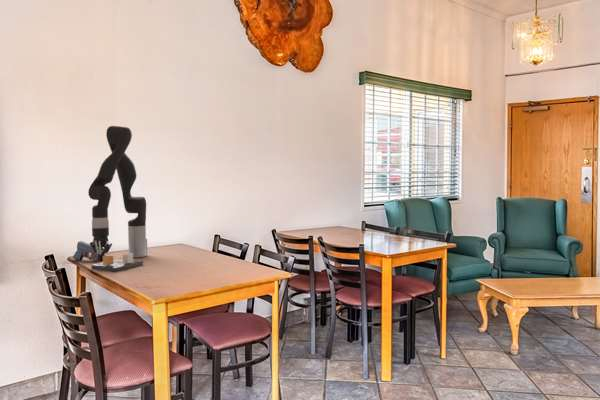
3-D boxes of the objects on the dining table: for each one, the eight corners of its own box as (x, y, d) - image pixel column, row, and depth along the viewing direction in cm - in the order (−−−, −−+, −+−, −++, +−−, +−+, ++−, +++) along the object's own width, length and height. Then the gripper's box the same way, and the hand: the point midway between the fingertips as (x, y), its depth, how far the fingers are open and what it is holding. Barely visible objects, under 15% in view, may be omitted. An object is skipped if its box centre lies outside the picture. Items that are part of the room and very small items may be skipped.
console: (119, 262, 252) (119, 258, 251) (143, 265, 245) (143, 261, 245) (91, 268, 235) (91, 264, 235) (115, 272, 228) (115, 267, 228)
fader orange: (108, 263, 236) (108, 254, 236) (113, 264, 235) (113, 254, 234) (102, 264, 233) (102, 255, 232) (107, 265, 232) (107, 256, 231)
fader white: (128, 261, 241) (128, 252, 241) (133, 262, 240) (133, 253, 240) (123, 262, 238) (123, 253, 238) (127, 263, 237) (127, 254, 236)
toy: (97, 267, 254) (101, 249, 253) (72, 258, 257) (76, 240, 256) (100, 266, 256) (104, 248, 255) (75, 257, 260) (79, 239, 258)
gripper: (116, 226, 235) (117, 261, 236) (96, 224, 241) (97, 259, 242) (104, 228, 228) (105, 264, 230) (84, 226, 234) (85, 261, 235)
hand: (101, 261), depth 236 cm, fingers closed
